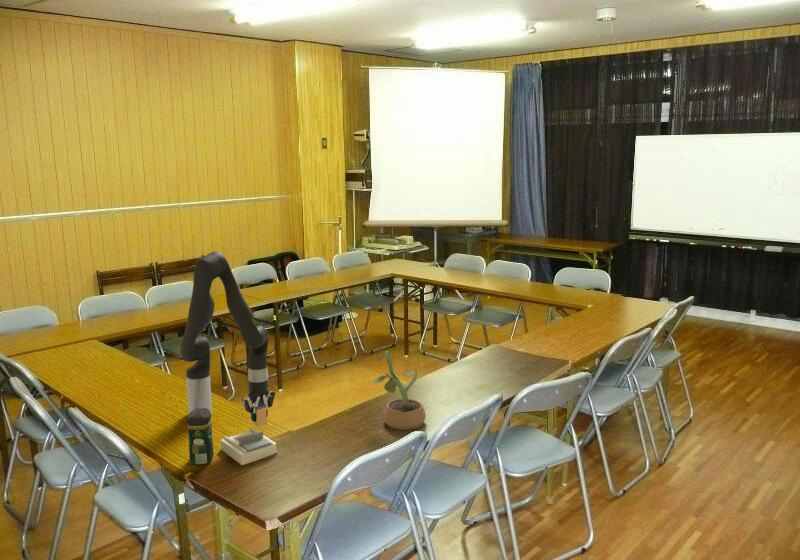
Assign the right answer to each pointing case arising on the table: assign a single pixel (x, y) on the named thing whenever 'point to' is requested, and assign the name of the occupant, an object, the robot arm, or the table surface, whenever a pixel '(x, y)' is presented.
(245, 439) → the shutter
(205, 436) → the coffee jar
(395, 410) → the potted plant
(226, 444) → the socket
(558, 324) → the table surface
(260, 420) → the plug
